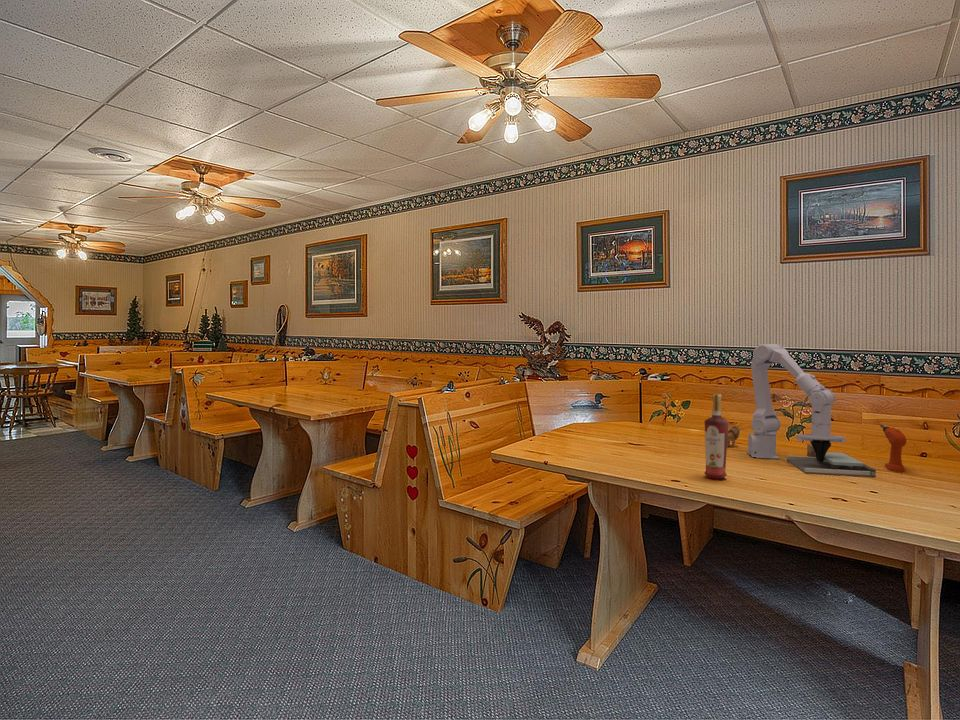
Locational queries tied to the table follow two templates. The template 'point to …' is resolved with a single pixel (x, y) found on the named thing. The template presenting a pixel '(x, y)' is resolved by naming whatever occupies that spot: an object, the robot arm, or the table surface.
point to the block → (810, 451)
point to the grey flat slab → (842, 461)
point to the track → (828, 467)
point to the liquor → (716, 442)
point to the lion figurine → (733, 435)
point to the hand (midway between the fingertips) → (820, 461)
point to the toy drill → (895, 448)
